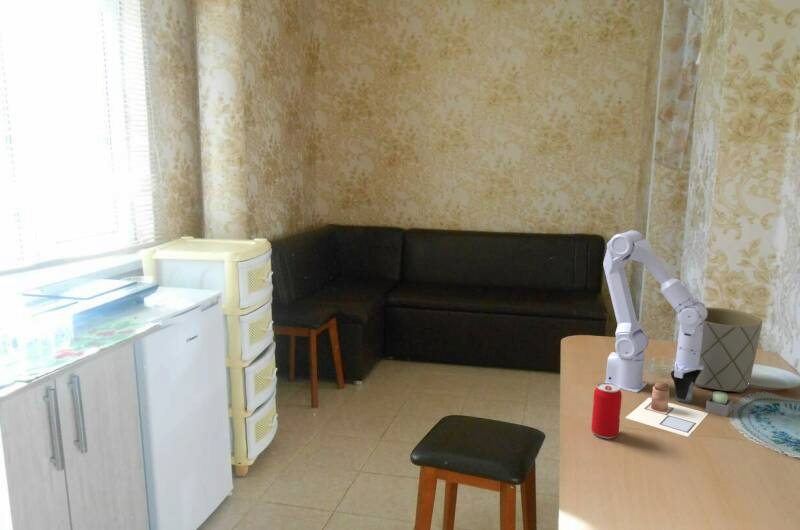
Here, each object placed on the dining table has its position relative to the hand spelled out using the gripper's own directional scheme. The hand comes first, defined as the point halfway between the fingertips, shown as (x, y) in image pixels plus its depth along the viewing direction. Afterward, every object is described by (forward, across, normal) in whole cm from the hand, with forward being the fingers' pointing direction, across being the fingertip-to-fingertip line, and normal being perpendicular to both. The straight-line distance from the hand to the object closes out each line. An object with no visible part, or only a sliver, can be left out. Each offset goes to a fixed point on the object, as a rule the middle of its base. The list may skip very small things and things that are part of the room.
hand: (683, 395), depth 168 cm
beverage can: (+2, -33, +8) cm, 34 cm away
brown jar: (+1, -10, +3) cm, 11 cm away
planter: (+2, +20, -3) cm, 20 cm away
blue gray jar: (+1, 0, 0) cm, 1 cm away
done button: (0, -1, -9) cm, 9 cm away
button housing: (+1, -1, -9) cm, 9 cm away
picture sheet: (+1, -13, 0) cm, 13 cm away
